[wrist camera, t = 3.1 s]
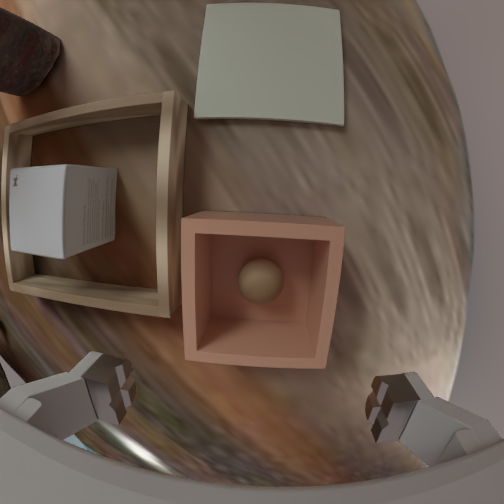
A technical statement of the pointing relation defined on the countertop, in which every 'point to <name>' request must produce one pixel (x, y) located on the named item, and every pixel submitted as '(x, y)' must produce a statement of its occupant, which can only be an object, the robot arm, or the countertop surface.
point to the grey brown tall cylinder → (24, 54)
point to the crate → (167, 205)
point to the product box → (61, 209)
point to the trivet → (271, 64)
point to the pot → (259, 315)
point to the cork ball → (260, 281)
